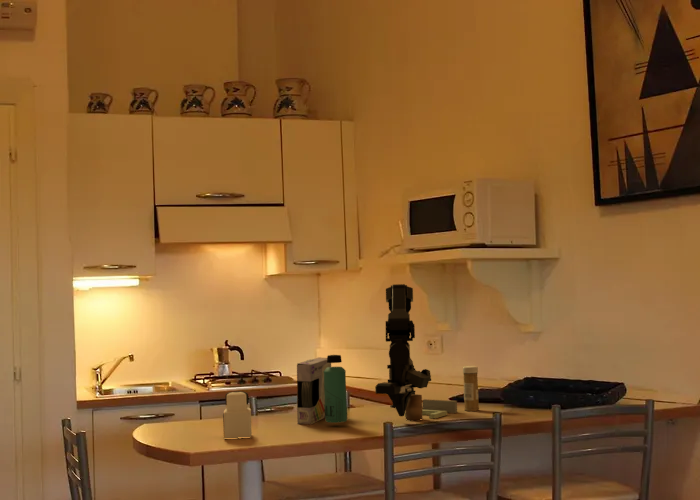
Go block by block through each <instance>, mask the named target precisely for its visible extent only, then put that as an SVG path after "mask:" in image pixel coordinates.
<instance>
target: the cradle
mask: <svg viewBox="0 0 700 500" xmlns="http://www.w3.org/2000/svg"><path fill="white" fill-rule="evenodd" d="M423 415H426V416H428V418H429V419H433V418H435V419H438V418H441V417H444V416H448V413H447V411H440V410H423V409H422V416H423ZM404 418H406V412H405V414H404Z"/></svg>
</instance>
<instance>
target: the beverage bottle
mask: <svg viewBox="0 0 700 500" xmlns="http://www.w3.org/2000/svg"><path fill="white" fill-rule="evenodd" d="M326 358H327V363H331V364H337V363H338V364H339V363H340V364H341V363H342V362H343V360H342V356H341V354H330V355H329V354H328V355H327V356H326ZM346 371H347V370H346V369H345V368H344V367H342V366H331V367H327V368H326V369H325V370H324V394H325V401H324V402H325V405H324V407H325V418H324V420H325V422H327V423H333V424H334V423H336V424H337V423H345V422H347V421H348V418H349V417H348V415H349V414H348V413H349V412H348V404H347V403H348V398H347V382H346V381H347V379H346V377H347V376H346Z"/></svg>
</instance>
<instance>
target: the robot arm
mask: <svg viewBox="0 0 700 500" xmlns="http://www.w3.org/2000/svg"><path fill="white" fill-rule="evenodd" d="M413 288H414V287H410V286H408V285H407V284H405V283H403V284H402V283H400V284H399V283H397V284H394V283H393V284H392V285H391V284H390V286H389V287H387V288H385V303H388V310H389V313H388V315H387V320H386V321H385V342H387V343H388V342H390V344H389V350H388V357H389V364H387V365H386V368H387V369H388V370H389V371H388V373H389V374H388V376H389V379H387V382H385V381H384V382H379V383H376V385H375V386H374V387H375V389H374V390H375V392H374V393H375V394H376V395H387V396H388V397H389V399H390V400H391V401H390V402H392V404H391V405H389V407H390V408H395V410H396V413H398V416H399V417H405V413H406V407H407V403H408V400H409V397H410V396H411V395H412V394H416V390H415V388H417V389H424V388H427V387H428V385H429V383H430V382H431V381H432V374H431V370H430V369H428V368H424V369H422V370H421V371H420V370H416V368H415V365H414V361H413V360H412V358H411V347H410V346H411V345H410V343H409V342H413V340H414V339H415V337H416V336H415V335H416V334H415V323H414V321H413V320H410V317H411V316H410V312H411V310H412V303H413V302H414V289H413Z"/></svg>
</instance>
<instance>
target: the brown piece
mask: <svg viewBox="0 0 700 500" xmlns="http://www.w3.org/2000/svg"><path fill="white" fill-rule="evenodd" d="M422 410H423V396H422V394H416V393H415V394H412V395H411V396H410V397H409V400H408V403H407V407H406V410H405V413H406V417H405V420H406V419H407V420H420V419H423V415H422ZM407 420H406V421H407ZM420 421H421V420H420Z"/></svg>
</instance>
